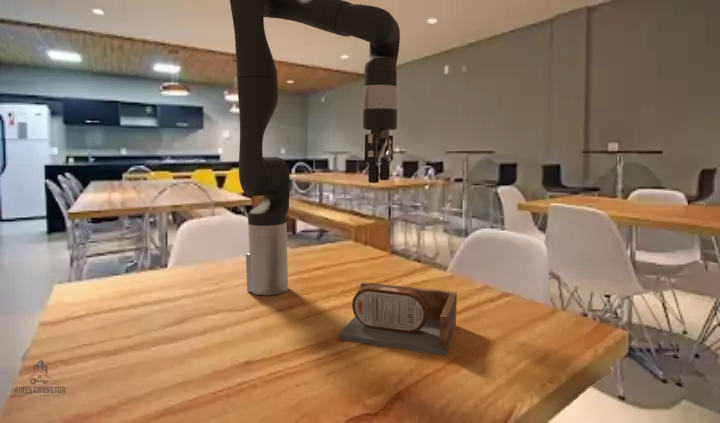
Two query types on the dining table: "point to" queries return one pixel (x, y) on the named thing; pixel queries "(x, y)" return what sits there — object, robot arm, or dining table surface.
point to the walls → (439, 310)
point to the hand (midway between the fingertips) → (379, 181)
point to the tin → (391, 308)
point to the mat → (397, 337)
